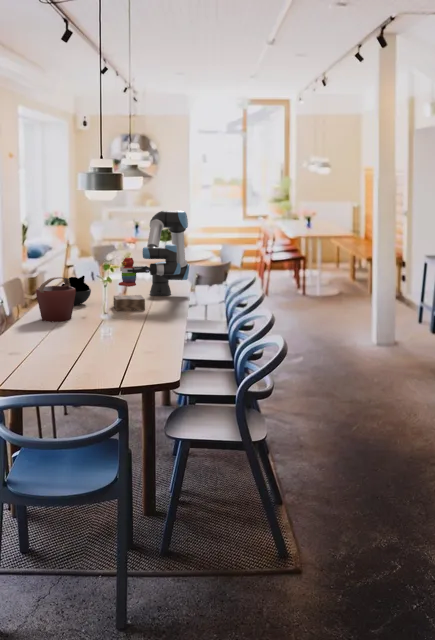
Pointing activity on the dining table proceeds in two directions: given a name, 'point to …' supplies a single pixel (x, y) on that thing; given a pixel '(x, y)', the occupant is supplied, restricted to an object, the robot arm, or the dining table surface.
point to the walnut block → (129, 302)
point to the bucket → (56, 301)
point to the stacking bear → (128, 274)
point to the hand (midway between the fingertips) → (121, 269)
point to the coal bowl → (79, 289)
